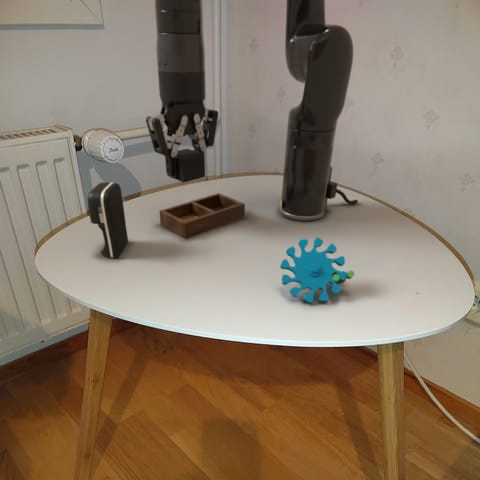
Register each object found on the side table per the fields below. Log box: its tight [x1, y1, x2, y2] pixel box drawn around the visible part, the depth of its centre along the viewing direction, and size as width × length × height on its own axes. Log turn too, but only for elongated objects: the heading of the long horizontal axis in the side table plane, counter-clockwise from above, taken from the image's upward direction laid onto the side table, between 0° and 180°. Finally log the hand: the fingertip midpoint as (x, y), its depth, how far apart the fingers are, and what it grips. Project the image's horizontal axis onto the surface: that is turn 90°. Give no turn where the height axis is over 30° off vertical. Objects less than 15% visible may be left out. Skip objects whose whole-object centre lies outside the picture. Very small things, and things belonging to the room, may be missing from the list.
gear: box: [279, 237, 355, 304], centre depth 64 cm, size 11×6×10 cm
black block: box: [166, 148, 206, 183], centre depth 76 cm, size 5×5×4 cm
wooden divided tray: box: [159, 192, 246, 240], centre depth 84 cm, size 8×15×3 cm, turn 133°
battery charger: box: [87, 181, 129, 259], centre depth 71 cm, size 7×4×11 cm, turn 175°
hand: (186, 174), depth 77 cm, fingers closed on black block, 5 cm apart
